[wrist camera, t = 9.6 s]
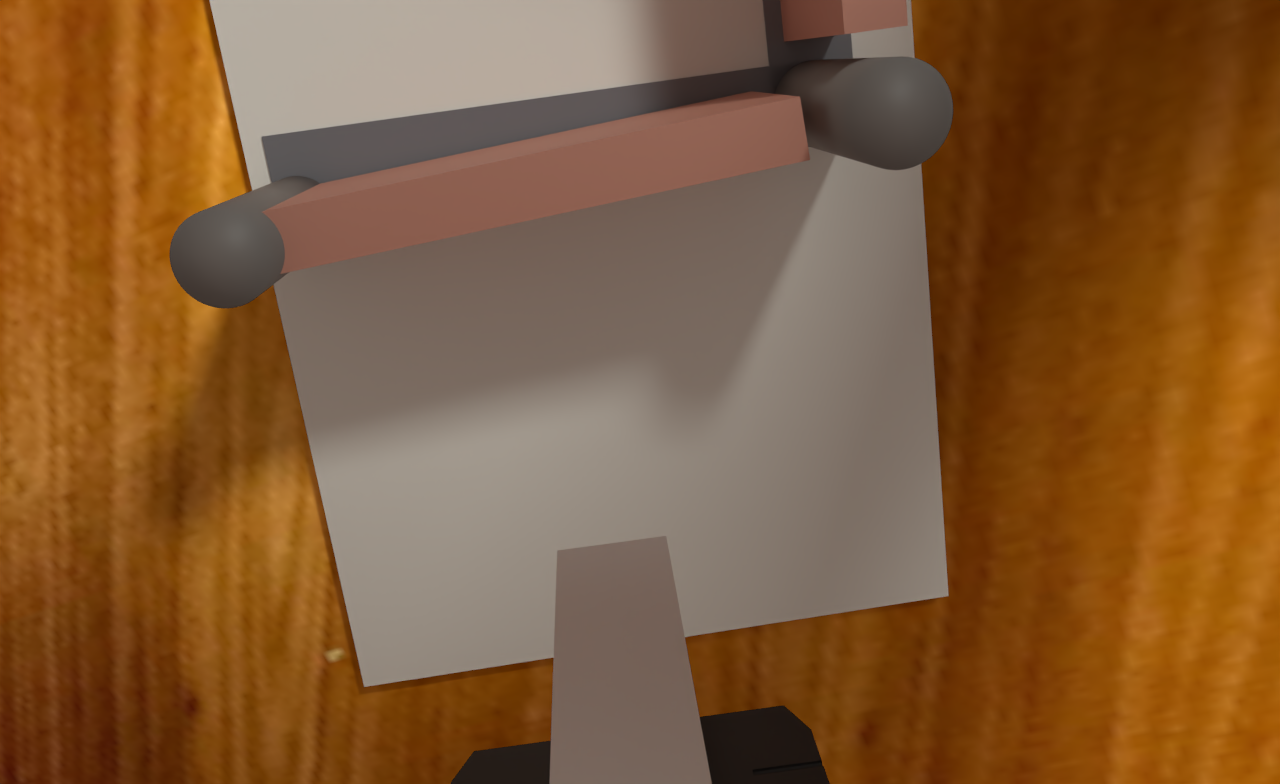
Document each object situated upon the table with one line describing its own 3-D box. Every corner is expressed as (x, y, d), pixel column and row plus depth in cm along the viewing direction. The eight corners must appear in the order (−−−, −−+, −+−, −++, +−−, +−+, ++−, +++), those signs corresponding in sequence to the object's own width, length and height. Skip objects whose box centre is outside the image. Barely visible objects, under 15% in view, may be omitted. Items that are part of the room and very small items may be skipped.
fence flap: (748, 78, 27) (808, 80, 21) (761, 154, 27) (824, 180, 21) (250, 184, 27) (156, 220, 20) (272, 259, 27) (187, 317, 21)
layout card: (81, -592, 23) (72, -605, 23) (862, -683, 24) (868, -698, 23) (366, 679, 31) (363, 688, 31) (943, 589, 32) (949, 597, 31)
